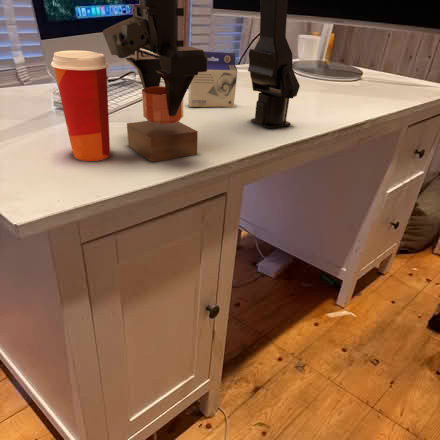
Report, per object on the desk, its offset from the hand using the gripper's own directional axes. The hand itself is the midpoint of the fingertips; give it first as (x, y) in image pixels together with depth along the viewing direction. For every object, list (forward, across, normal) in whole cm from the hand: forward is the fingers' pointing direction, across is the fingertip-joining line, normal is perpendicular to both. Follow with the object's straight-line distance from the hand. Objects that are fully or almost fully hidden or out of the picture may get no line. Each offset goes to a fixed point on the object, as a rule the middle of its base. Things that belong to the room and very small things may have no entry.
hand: (161, 110), depth 70 cm
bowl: (+1, 0, 0) cm, 1 cm away
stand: (+7, 0, 0) cm, 7 cm away
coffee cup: (+7, -3, -12) cm, 14 cm away
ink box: (+7, -22, +26) cm, 35 cm away
